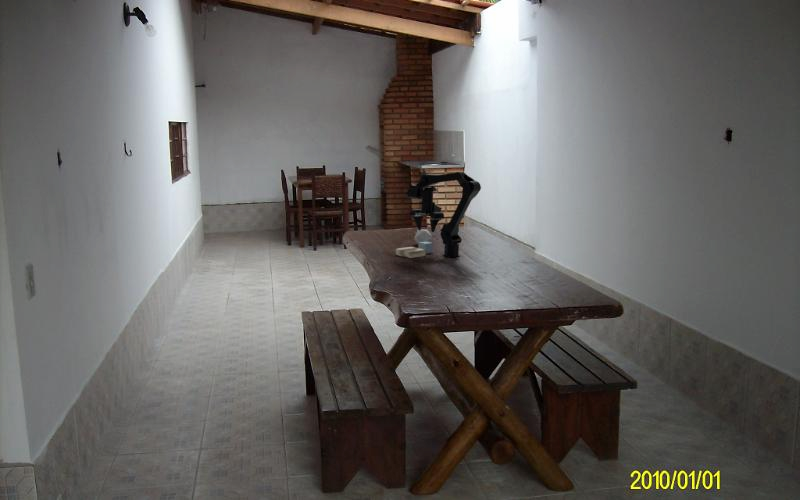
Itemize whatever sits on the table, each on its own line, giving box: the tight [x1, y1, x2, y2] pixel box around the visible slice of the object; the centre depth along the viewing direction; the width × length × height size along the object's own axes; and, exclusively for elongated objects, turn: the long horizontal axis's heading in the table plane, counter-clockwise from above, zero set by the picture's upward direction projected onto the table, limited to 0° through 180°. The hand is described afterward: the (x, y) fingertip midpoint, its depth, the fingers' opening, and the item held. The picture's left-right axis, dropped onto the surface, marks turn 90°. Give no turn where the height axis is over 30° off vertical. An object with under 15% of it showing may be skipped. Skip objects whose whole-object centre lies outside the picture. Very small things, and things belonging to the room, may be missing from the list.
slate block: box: [417, 241, 434, 255], centre depth 361 cm, size 5×5×5 cm
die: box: [413, 228, 433, 245], centre depth 383 cm, size 8×9×10 cm
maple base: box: [395, 246, 426, 259], centre depth 352 cm, size 10×10×3 cm
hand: (426, 231), depth 359 cm, fingers open, 9 cm apart
